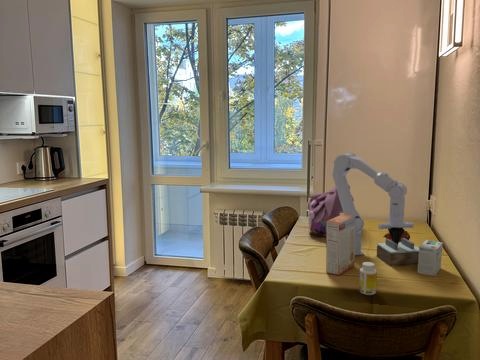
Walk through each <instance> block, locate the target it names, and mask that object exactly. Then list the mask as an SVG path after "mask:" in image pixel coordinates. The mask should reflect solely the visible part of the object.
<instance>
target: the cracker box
mask: <svg viewBox="0 0 480 360" xmlns="http://www.w3.org/2000/svg"><path fill="white" fill-rule="evenodd" d="M325 237H326V242H325V243H326V250H325V251H326V252H325V253H326V254H325V255H326V259H325V261H326V264H325V266H326V268H325V271H326V273H327V274H332V275H334V276H341V275H343V274H344V273H346V271H348V270H350V269H351V268H353V267H354V266H355V256H356V255H355V216H353V215H346V214H344V213H341V214H340V216H337V217H335V218H333V219H330V220H328V221H327V235H326V236H325Z"/></svg>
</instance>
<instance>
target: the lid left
mask: <svg viewBox="0 0 480 360" xmlns="http://www.w3.org/2000/svg"><path fill="white" fill-rule="evenodd" d="M376 244H377V245H378V246H380V247H381V248H383V249H384V250H386V251H388V252H389V253H406V251H405V250H404V249H402V248H400V247H398V244H396V243H395V242H393V241H391V240H390V239H386V238H385V242H382V243H381V242H379V243H376ZM377 245H376V246H377Z"/></svg>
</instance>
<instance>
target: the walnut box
mask: <svg viewBox="0 0 480 360" xmlns="http://www.w3.org/2000/svg"><path fill="white" fill-rule="evenodd" d="M418 257H419V252H409V253H407V252H406V253H389V252H388V251H386V250H384V249H383V248H381V247H380V246H378V245H376V258H378V259H379V260H381V261H382V262H383V263H385V264H386V265H388V266H390V267H397V266H400V267H401V266H415V265H416V266H418Z"/></svg>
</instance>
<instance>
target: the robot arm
mask: <svg viewBox="0 0 480 360" xmlns="http://www.w3.org/2000/svg"><path fill="white" fill-rule="evenodd" d="M333 164H334V165H333V170H332V177H333V178H332V179H333V182H334V184H335V186H336V189H337V192H338V196H339V199H340V202H341V206H342V209H343V213H342V214H346V215H353V216H355V256H360V255H361V256H362V255H365V252H363V251H362V234H363V233H362V229H364V226H365V223H364V220H363V218H362V217H361V215H360V213H359V211H358V210H356V206H355V203H354V202H353V199H354V198H353V199H352V197H353V195H352V193H351V188H350V189H349V186H350V185H349V183H348V179H347V174H348V173H349V172H350V170H353V169H354V170H355V169H356V170H359V171H360V172H362V173H364V174H365V175H367V176H368V177H370V178H371V179H373V181H374V184H375V185H376V186H377V187H378V188H380V189H382V190H383V191H385V192H386V193H388V196H389V198H390V199H389V217H388V222H382V223H378V229H379V230H385V229H387V231H388V232H389V233H390V235H391V238H392V241H393V242H395V243H396V244H398V243H399V241H400V238H401V236H402V234H403V233H404V231H406V230H405V229H407V228H410V229H414V225H415V223H414V222H412V221H410V222H409V221H408V222H407V221H405V206H406V205H405V199H406V196H405V195H407V192H408V189H407V186H406V185H405V184H404V183H402V182H399V181H398V180H397V179H396V180H395V179H394V178H392V177H390V176H389V175H390V174H389V173H388V172H386V173H385V172H382V171H381V172H379V171H377V170H376V169H375V168H373V167H372V166H371V165H370V164H368V163H367V162H365V161H364V160H363V159H362V158H361V157H360V156H358V155H356V154H355V153H353V152H347V153H342V154H339V155H337V156H336V157H335V159H334V160H333ZM348 185H349V186H348ZM351 195H352V196H351Z"/></svg>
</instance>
